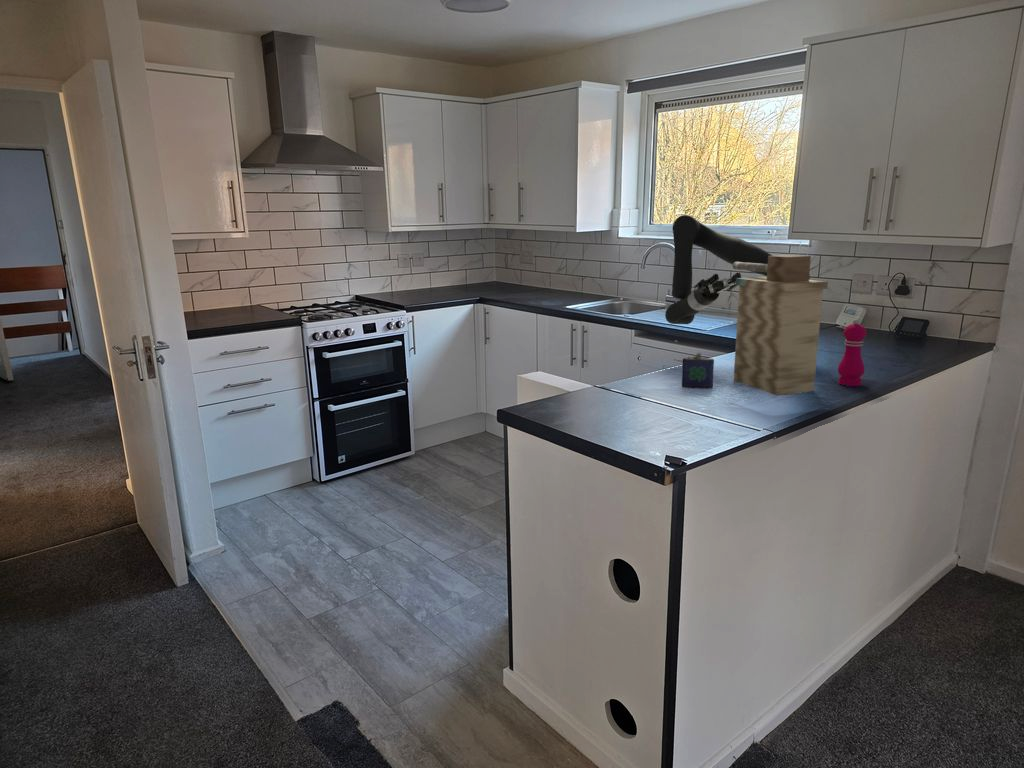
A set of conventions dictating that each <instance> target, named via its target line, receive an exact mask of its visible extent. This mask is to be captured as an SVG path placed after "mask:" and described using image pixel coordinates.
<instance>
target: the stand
mask: <svg viewBox="0 0 1024 768" xmlns="http://www.w3.org/2000/svg"><path fill="white" fill-rule="evenodd" d="M828 283H829V282H828V281H825V280H815V279H810V280H809V281H801V282H777V281H768V280H767V276H754V277H753V276H752V277H741V278H736V285H738V287H739V288H738V301H737V303H738V304H737V315H736V316H737V317H736V318H737V319H736V334H735V335H736V336H735V349H734V350H735V351H734V352H735V353H734V370H733V382H737V383H740V384H742V385H744V386H748V387H750V388H753V389H756V390H760V391H762V392H765V393H768V394H771V395H774V396H787V395H793V393H795V394H801V393H800V392H804V393H808V392H807V391H812V392H814V391H815V381H816V369H817V359H818V347H819V337H820V328H821V327H820V326H821V318H822V317H821V313H822V305H823V296H824V290H828V285H829V284H828Z"/></svg>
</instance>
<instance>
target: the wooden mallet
mask: <svg viewBox="0 0 1024 768" xmlns="http://www.w3.org/2000/svg"><path fill="white" fill-rule="evenodd" d="M811 257H812V255H802V254H801V255H796V254H783V255H782V254H781V255H773V256H768V264H758V263H745V262H734V263H733V265H732V268H733V269H734V270H738V271H748V272H750V271H758V272H767V276H766V277H767V280H768V281H777V282H801V281H809V275H810V271H811V260H812V259H811Z"/></svg>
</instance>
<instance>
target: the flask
mask: <svg viewBox="0 0 1024 768" xmlns="http://www.w3.org/2000/svg"><path fill="white" fill-rule="evenodd" d="M714 364H715V359H714V358H710V357H709V358H707V357H706V358H705V357H704V358H702V353H701V352H697V353H696V356H688V357H683V358H682V364H681V365H682V366H681V368H682V371H681V373H682V374H681V387H682V388H684V389H713V387H714V368H715V367H714V366H715V365H714Z"/></svg>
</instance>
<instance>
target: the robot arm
mask: <svg viewBox="0 0 1024 768" xmlns="http://www.w3.org/2000/svg"><path fill="white" fill-rule="evenodd" d="M672 235H673V243H674V244H673V247H674V249H673V250H674V259H673V260H674V262H673V272H672V273H673V274H672V284H671V285H672V286H671V289H672V290H671V296H672V298H674V299H677V300H678V301H675V302H673V303H672V304H670V305H669V306H668V307H667V309H666V310H665V319H666V321H667V323H669V324H671V325H690V324H691V323H692V322H694V320H695V315H697V314H698V313H699V312H701V311H702V310H703V309H706V308H707V307H709V306H710V305H711V304H712V303H714V302H715V301H716V300H717V299H718V298H719V297H720V294H721V293H722V292H723V291H725V290H727V292H731V291H732V290H733V289H735V288H736V287H739V285H736V278H742V275H741V272H740V271H737V272H736V273H734V274H733V275H732V276H730V277H728V278H727V277H725V278H722V279H720V277H719V274H718V273H714V274H712V275H711V277H708V278H706V279H704V278H703V279H700V280H699V282H697V283H696V284H695V285H693V260H692V259H693V255H692V254H693V246H696V247H699V248H702V249H704V250H706V251H707V252H710V253H712V255H714V256H716V257H717V258H719V259H720V260H723V261H724V262H726V263H728V264H730V265H732V266H733V263H734V262H745V263H758V264H768V256H774V255H773V254H771V253H769V252H767V251H766V250H764V249H762V248H760V247H758V246H757V245H755V244H753V243H751V242H749V241H747V240H745V239H742V238H740V237H737V236H734V235H731V234H727V233H723V232H720V231H717V230H714V229H713V228H710V227H709V226H707V225H706V224H703V223H702V222H700V221H699V220H698V219H696V218H695V217H694V216H692V215H690V214H683V215H680V216H678V217H677V218H676V219H675V220H674V221H673V224H672ZM749 272H751V273H754V274H757V275H758V274H759V275H762V276H763V277H767V272H758V271H749ZM809 280H811V276H810V274H809ZM724 282H725V283H724ZM693 287H694V289H693V290H692V288H693Z"/></svg>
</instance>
